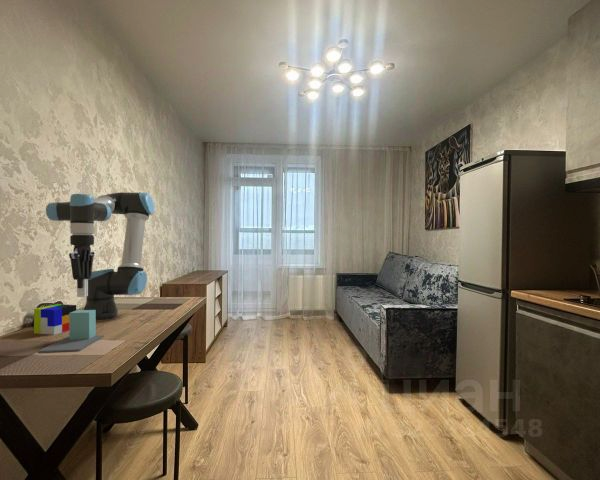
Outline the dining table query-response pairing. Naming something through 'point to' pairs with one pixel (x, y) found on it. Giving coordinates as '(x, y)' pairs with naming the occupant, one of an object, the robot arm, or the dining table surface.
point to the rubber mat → (70, 345)
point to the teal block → (82, 324)
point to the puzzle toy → (52, 319)
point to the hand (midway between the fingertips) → (82, 296)
